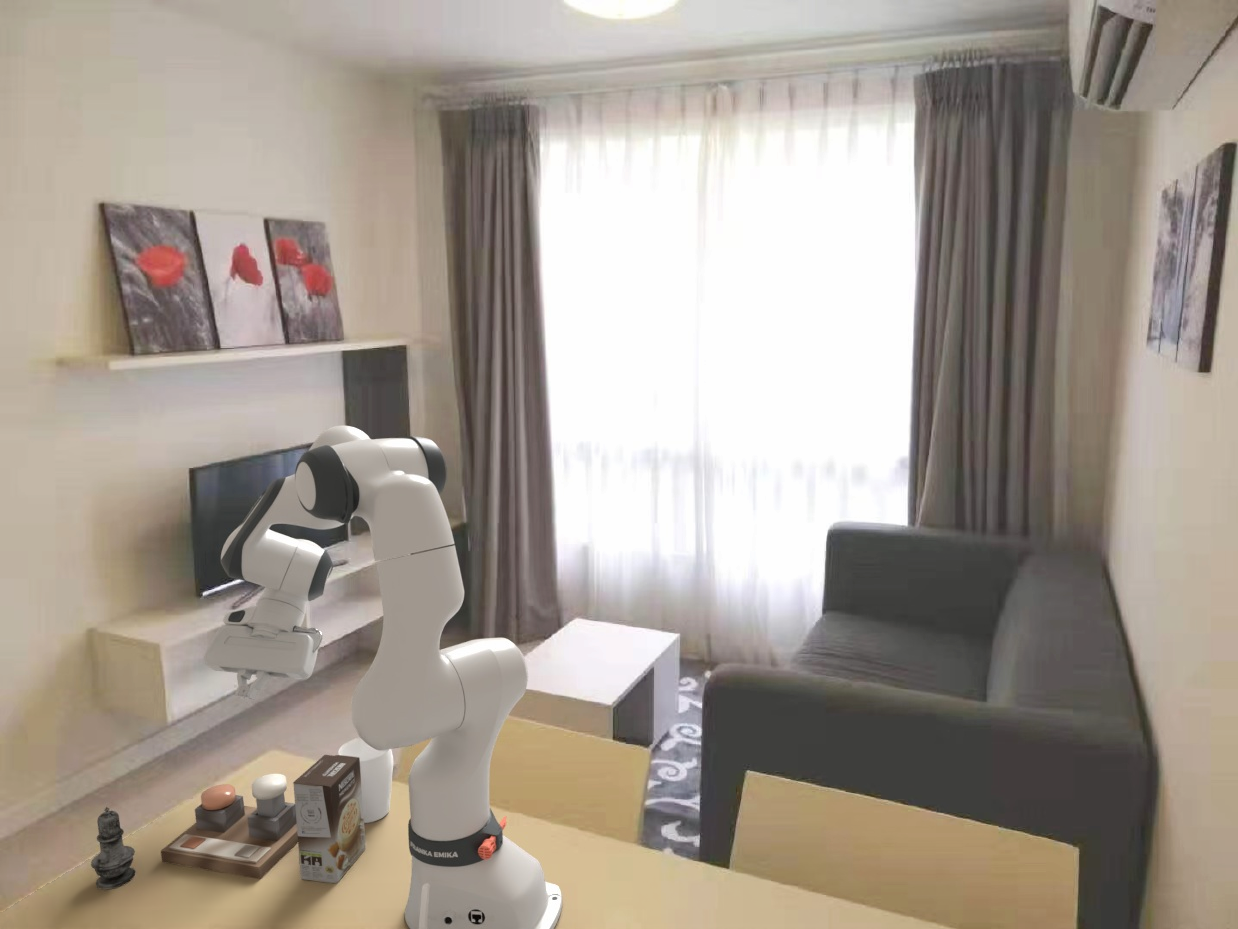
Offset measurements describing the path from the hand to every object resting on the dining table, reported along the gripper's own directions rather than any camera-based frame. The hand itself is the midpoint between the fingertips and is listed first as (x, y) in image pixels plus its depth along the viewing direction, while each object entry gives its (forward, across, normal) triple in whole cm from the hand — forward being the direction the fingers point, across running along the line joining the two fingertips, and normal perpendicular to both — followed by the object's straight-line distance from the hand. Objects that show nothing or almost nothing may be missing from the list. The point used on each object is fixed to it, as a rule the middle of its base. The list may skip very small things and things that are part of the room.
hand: (244, 697), depth 152 cm
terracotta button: (+19, -1, -6) cm, 20 cm away
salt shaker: (+31, +7, +2) cm, 32 cm away
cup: (+13, -22, -15) cm, 30 cm away
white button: (+17, -11, -3) cm, 20 cm away
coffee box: (+23, -24, -5) cm, 33 cm away
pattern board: (+22, -6, -6) cm, 23 cm away
